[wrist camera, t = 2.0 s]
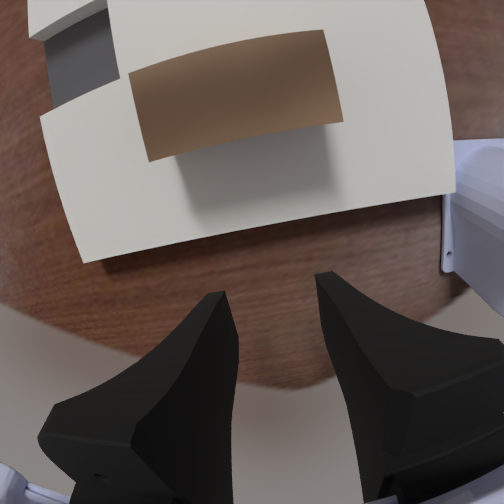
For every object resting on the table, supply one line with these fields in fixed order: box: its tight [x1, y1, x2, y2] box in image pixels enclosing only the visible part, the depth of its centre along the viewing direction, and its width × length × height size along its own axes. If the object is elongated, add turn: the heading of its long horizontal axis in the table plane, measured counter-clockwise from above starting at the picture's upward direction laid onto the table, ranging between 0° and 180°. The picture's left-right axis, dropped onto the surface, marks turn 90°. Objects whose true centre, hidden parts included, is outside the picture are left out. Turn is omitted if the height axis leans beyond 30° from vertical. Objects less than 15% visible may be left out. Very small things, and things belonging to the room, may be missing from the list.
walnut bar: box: [128, 29, 344, 162], centre depth 13 cm, size 4×8×4 cm, turn 102°
